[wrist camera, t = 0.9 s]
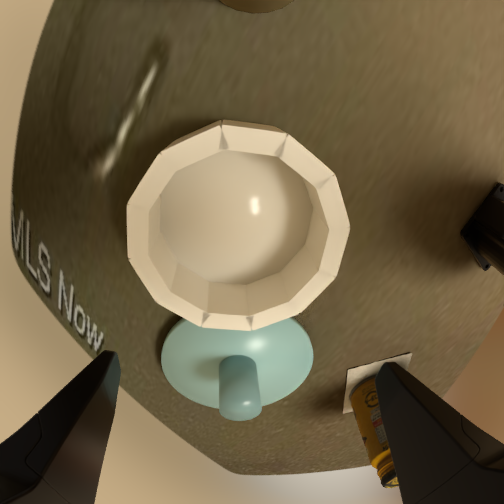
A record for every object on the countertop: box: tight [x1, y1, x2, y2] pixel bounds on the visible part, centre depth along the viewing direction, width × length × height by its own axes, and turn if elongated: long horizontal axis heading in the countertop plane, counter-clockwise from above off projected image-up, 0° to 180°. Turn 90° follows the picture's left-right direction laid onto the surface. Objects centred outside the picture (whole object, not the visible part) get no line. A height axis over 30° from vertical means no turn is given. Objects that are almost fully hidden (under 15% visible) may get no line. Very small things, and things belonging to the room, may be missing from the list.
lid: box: [161, 317, 313, 421], centre depth 24 cm, size 13×13×5 cm
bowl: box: [127, 119, 350, 331], centre depth 19 cm, size 12×12×4 cm
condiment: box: [343, 353, 412, 488], centre depth 26 cm, size 7×8×12 cm
